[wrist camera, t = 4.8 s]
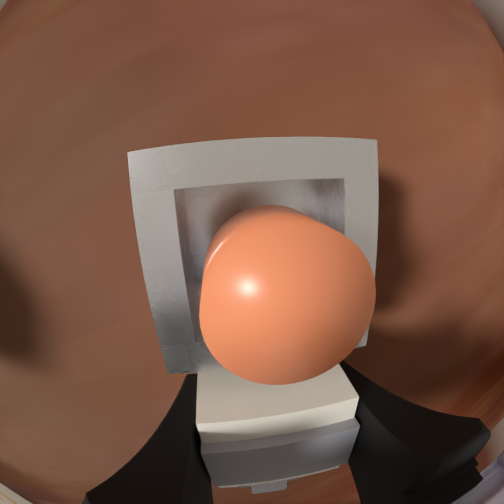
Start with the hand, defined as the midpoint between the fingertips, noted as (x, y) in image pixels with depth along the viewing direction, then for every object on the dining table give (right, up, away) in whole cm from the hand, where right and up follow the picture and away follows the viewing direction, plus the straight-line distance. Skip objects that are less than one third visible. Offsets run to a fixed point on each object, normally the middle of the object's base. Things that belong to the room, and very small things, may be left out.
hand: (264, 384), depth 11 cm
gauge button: (0, +5, -4) cm, 6 cm away
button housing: (-1, +6, 0) cm, 6 cm away
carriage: (0, 0, +2) cm, 2 cm away
